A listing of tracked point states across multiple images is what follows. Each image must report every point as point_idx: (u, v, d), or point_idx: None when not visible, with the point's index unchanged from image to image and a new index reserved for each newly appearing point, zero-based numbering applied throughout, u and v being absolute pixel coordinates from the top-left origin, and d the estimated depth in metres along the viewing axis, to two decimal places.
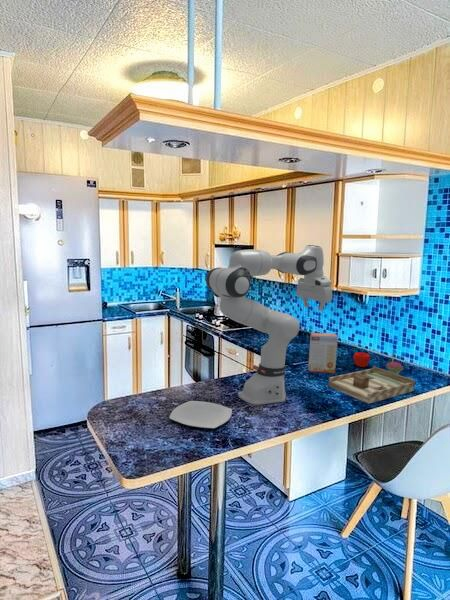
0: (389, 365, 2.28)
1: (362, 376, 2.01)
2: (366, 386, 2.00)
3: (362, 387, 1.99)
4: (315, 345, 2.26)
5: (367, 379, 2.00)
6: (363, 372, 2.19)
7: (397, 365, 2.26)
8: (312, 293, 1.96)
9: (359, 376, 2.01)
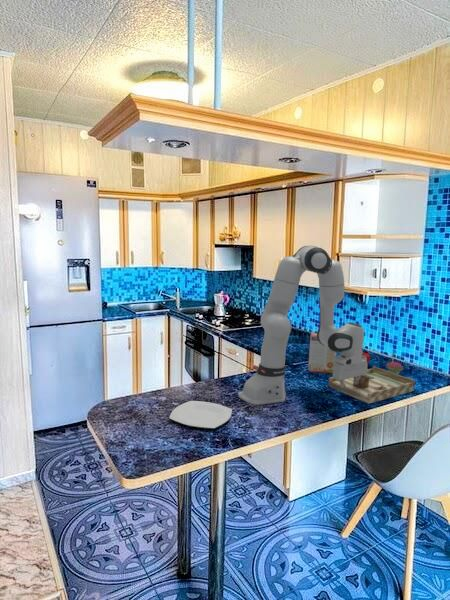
0: (389, 365, 2.28)
1: (362, 376, 2.01)
2: (366, 386, 2.00)
3: (362, 387, 1.99)
4: (315, 345, 2.26)
5: (367, 379, 2.00)
6: None
7: (397, 365, 2.26)
8: None
9: None
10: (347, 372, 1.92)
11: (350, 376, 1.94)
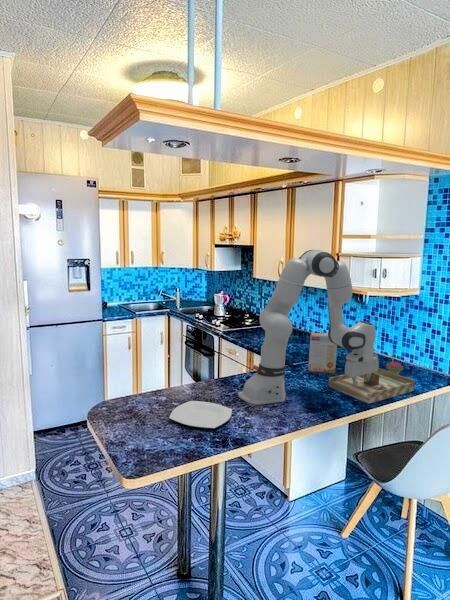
0: (389, 365, 2.28)
1: (373, 374, 2.05)
2: (376, 384, 2.04)
3: (373, 384, 2.03)
4: (315, 345, 2.26)
5: (377, 377, 2.04)
6: None
7: (397, 365, 2.26)
8: None
9: None
10: (359, 369, 1.96)
11: (362, 373, 1.98)
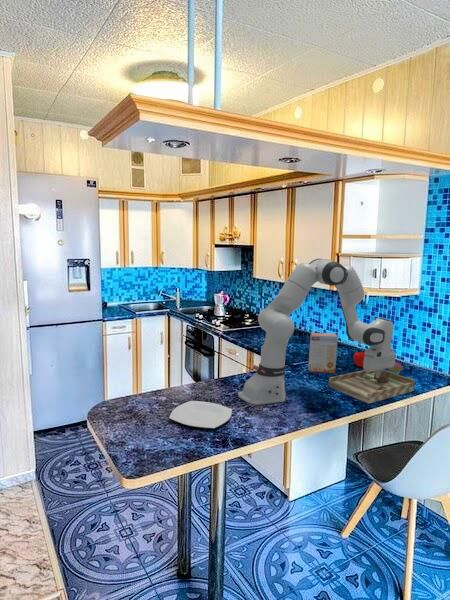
0: None
1: (383, 371, 2.10)
2: (386, 381, 2.08)
3: (383, 381, 2.07)
4: (315, 345, 2.26)
5: (388, 374, 2.08)
6: (363, 372, 2.19)
7: (397, 365, 2.26)
8: None
9: None
10: (377, 364, 2.03)
11: (379, 368, 2.05)
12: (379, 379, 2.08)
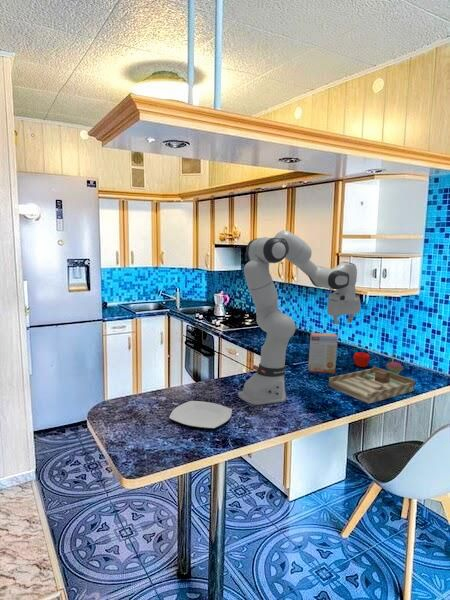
0: (389, 365, 2.28)
1: (383, 371, 2.10)
2: (387, 381, 2.09)
3: (384, 382, 2.08)
4: (315, 345, 2.26)
5: (388, 374, 2.09)
6: (363, 372, 2.19)
7: (397, 365, 2.26)
8: None
9: (380, 371, 2.10)
10: (341, 308, 2.02)
11: (344, 313, 2.03)
12: (380, 381, 2.09)
